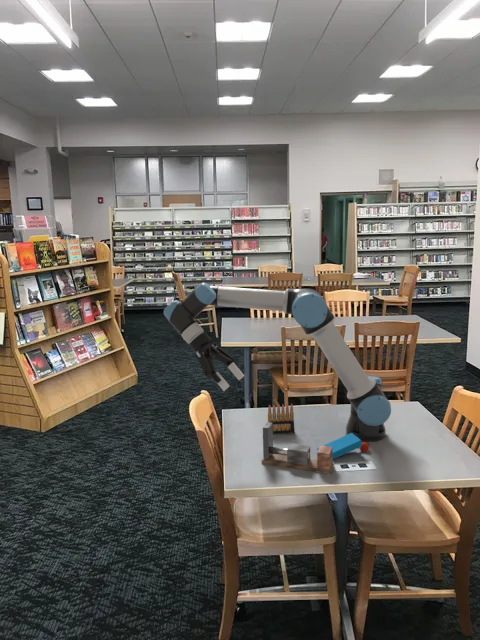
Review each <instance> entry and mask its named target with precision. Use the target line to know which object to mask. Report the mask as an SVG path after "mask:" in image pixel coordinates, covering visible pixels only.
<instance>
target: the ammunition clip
mask: <svg viewBox="0 0 480 640" xmlns="http://www.w3.org/2000/svg"><path fill="white" fill-rule="evenodd" d="M272 405H273V406H271V404H269V405H268V409H267V410H268V411H267V413H268V414H267V422H270V423H273V435H276V434H278V435H279V434H294V433H296V432H295V431H296V430H295V412H294V405H293V403H290V406H289V403H287V404H286V405H285V404H283V403H282V404H281V405H282V406H280V404H278V405H277V407H276V405H275V404H272ZM289 407H290V408H289Z"/></svg>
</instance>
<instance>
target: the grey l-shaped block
mask: <svg viewBox="0 0 480 640" xmlns="http://www.w3.org/2000/svg"><path fill="white" fill-rule="evenodd" d="M262 449H263V450H262V452H263V453H262V455H263V457H262V459H270V457H271V456H272V455H273V454H278V455H285V456H287V448H286V447H285V448H284V447H277V446H274V434H273V423H270V422H268V421H267V422H266V423H265V425H264V426H262ZM309 456H310V457H311V451H310V452H308V459H309Z"/></svg>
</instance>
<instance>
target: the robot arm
mask: <svg viewBox="0 0 480 640" xmlns="http://www.w3.org/2000/svg"><path fill="white" fill-rule="evenodd" d="M209 306H212V307H213V306H215V307H229V308H239V309H240V308H242V309H251V310H253V309H255V310H265V311H266V310H267V311H269V310H270V311H278V312H279V311H280V312H283V313H284V314H286V315H292V316H293V319H294V321H296V323H298V325H300V327H301V328H302V330H303V332H304V333H305V334H306V336H310V337H313V339H314V340H315V342H316V343H317V345H318V347H319V348H320V350H321V351H322V353H323V354H324V356H325V358H326V359H327V360H328V362H329V363H330V365H331V366H332V368H333V370H334V371H335V373H336V375H337V376H338V378H339V379H340V381H341V382H342V384H343V386H344V387H345V388H346V391H347V394H346V397H347V399H348V401H349V402H350V415H349V418H348V420H347V423H346V425H345V434H346V435H348V434H350V433H352V434H354V435H355V436H356V437H358V438H359V439H360V440H361V442H375V441H376V442H377V441H380V440H383V439H384V438H385V437H386V436H387V435H386V434H387V433H386V432H387V431H386V427H385V424H384V423H386V422H387V421H388V419H389V418H390V416H391V413H392V407H391V403H390V401H389V400H388V398H387V397H386V395H385V393H384V392H383V390H382V389H383V381H382V378H380V377H378V376H372V375H371V376H370V375H367V373H366V372H365V370H364V369H363V367H362V366H361V364H360V363H359V361H358V359H357V357H355V355H354V353H353V351H352V350H351V348H350V347H349V345H348V344H347V342H346V340H345V339H344V338H343V336H342V335H341V332H340V331H339V330H338V329H337V328H338V327H336V325H335V324H334V323H335V316H334V314H333V313H332V311H331V309H330V308H329V306H328V305H327V303H326V301H325V299H324V298H323V296H322V295H321V294H320V292H318V291H317V290H315V289H313V288H286V289H285V290H275V289H272V290H271V289H261V288H243V287H232V286H231V287H230V286H216V285H211V284H208V283H206V282H201V283H200V284H199V285H198V286H196V287H195V289H193V290H192V291H191V292H190V293H189V294H188V296H186V297H185V298H184V300H181V301H179V299H176V300H174V301H172V302H171V303H169V304H168V305H167V306H166V307H165V308H164V309H163V315H164V316H165V318H166V319H167V320H168V323H169V324H171V326H172V327H173V328H174V329H175V331H176V332H177V333H178V334H179V335H180V337H182V338H183V340H184V341H185V342H186V344H189V347H190V348H191V349H192V351H193V352H194V356H195V357H196V358H197V361H198V363H199V365H200V367H201V370H202V371H203V373H204V375H205V377H206V378H208V379H211V378H212V380H214V381H215V383H216V384H217V385H218V386H219V387H220V389H221V390H222V391H223V392H225V391H226V390H227V389H229V387H230V385H229V383H228V382H227V381H226V380H225V378H224V377H223V376H222V375H221V374H220V372H219V371H216V368H215V364H214V361H213V359H214V360H217V361H219V362H221V363H223V364H225V365H226V366H227V368H228V369H229V371H230V372H231V373H232V374H233V376H235V377H236V379H237V380H238V381H240V380H241V379H242V378H243V379H244V377H245V374H244V373H243V372H242V371H241V369H240V368H239V367H238V366H237V364H235V361H236V360H235V358H234V357H233V356H232V355H230V354H229V352H227V351H225V350H224V349H223V348H221V347H220V346H219V344H217V343H216V342H213V344H212V343H210V342H211V340H212V339H211V337H210V336H209V335H208V333H207V332H206V331H205V332H204V329H203V327H201V326H200V324H199V323H198V322H197V321H196V320H195V319H196V317H197V316H199V314H200V313H202V312H203V311H204V310H205V309H207V307H209Z"/></svg>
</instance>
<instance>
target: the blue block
mask: <svg viewBox="0 0 480 640" xmlns="http://www.w3.org/2000/svg"><path fill="white" fill-rule="evenodd" d="M322 446H329V447H332V461H333V460H335V459H337V458H340V457H342V456H344V455H346V454H348V453H350V452H352V451H354V450H357V449H360V451H361V452H368V451H369V449H370V446H369V444H368V443H367V441H361V440H360V439H359V438H358V437H356V436H355V435H354V434H352V433H350V434H348V435H347V434H346V435H344V436H341V437H338V438H337V439H335V440H332V441H331V442H330V441H329V442H328V443H325V444H324V445H322ZM319 448H320V446H319V447H317V448H316V449H317V451H318V450H319Z"/></svg>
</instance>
